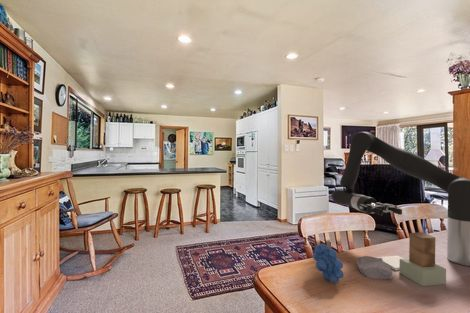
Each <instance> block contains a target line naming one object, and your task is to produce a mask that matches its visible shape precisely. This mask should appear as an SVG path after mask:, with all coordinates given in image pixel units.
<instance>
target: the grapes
mask: <svg viewBox="0 0 470 313" xmlns="http://www.w3.org/2000/svg"><path fill="white" fill-rule="evenodd" d="M337 257H338V254H337V251H336V250H335V249H333V248H329V246H328V245H327V243H322V244H320V245H319V244H316V245H315V246H314V252H313V253H312V259H313V260H314V261H315V268H316V269H317V271H319V272H321V273H322V277H323V279H325V280H326V281H329V280H330V281H331V282H332V283H334V284H338V283H339V280H340V279H343V278H344V272H343V271H342V269H343V267H344V265H343V264H344V263H343V262H342V261H341V259H339V258H337Z"/></svg>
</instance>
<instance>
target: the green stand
mask: <svg viewBox="0 0 470 313" xmlns="http://www.w3.org/2000/svg"><path fill="white" fill-rule="evenodd" d="M403 258H404V257H403ZM398 271H399V274H401V275H403V276H405V277H407V278H408V279H409V280H411V281H413V282H415V283H416V284H418V285H420V286H421V287H428V286H438V285H444V284H445V285H446V284H447V268H446V267H443V266H441V265H439V264H436V263H435V267H424V268H422V267H420V266H418V265H416V264H414V263H412V262H410V261H409V257H407V258H406V257H405V258H404V259H400V268H399V270H398Z"/></svg>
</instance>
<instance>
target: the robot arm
mask: <svg viewBox="0 0 470 313" xmlns="http://www.w3.org/2000/svg"><path fill="white" fill-rule="evenodd" d="M366 152H369V153H372V154H374V155H376V156H378V157H380V158H381V159H382V160H384V161H385V162H386V163H388V164H389V165H390V166H391V167H393V168H394V169H397V170H398V171H400V172H402V173H405V174H406V175H408V176H410V177H413V178H415V179H419V180H421V181H423V182H428V183H430V184H432V185H434V186H436V187H438V188H439V189H440V190H443V191H444V192H446V193H447V228H446V229H447V230H446V231H447V238H446V240H447V242H446V244H447V246H446V250H447V251H446V258H447V259H448V260H449V261H450V262H453V263H454V264H457V265H461V266H462V265H463V266H466V267H470V179H468V178H465V177H463V176H460V175H457V174H454V173H452V172H450V171H447V170H445V169H442V168H441V167H439V166H437V165H436V164H433V163H432V162H430V161H429V160H427V159H426V158H424V157H421V156H420V155H417V154H416V153H413V152H411V151H408V150H406V149H404V148H401V147H399V146H397V145H394V144H390V143H388V142H386V141H385V140H383V139H381V138H379V137H377V136H375V134H372V133H371V132H369V131H358V132H356V133H355V134H353V136H352V137H351V141H350V147H349V153H348V157H347V161H346V164H345V167H344V170H343V173H342V175H341V178H340V181H339V184H340V186H341V187H343V188H345V189H343V190H342V189H335V190H333V191H332V193H331V199H332V201H333V202H334V203H336V204H340V205H345V206H348V207H349V208H353V209H355V210H357V211H359V212H362V213H365V214H368V215H371V214H372V215H373V214H375V215H378V216H383V215H384V213H386V214H387V213H393V214H397V215H400V216H401V215H403V210H402V209H401V208H399V207H398V205H394V204H392V203H387V202H386V203H381V202H378V201H377V200H376V199H375V198H374V197H371V196H367V195H364V194H358V193H355V185H356V183H357V179H358V177H359V175H360V174H359V173H360V167H361V162H362V159H363V157H364V155H365V153H366Z"/></svg>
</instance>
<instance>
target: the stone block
mask: <svg viewBox="0 0 470 313" xmlns="http://www.w3.org/2000/svg"><path fill="white" fill-rule="evenodd" d="M356 263H357V268H358V269H359V272H360V273H361V275H363V276H364V277H366V278H368V279H377V280H380V279H381V280H390V281H391V280H392V279H393V271H392V270H393V269H391V268H390V266H389V265H387V264H385V263H384V262H383V260H382V258H377V257H375V256H370V255H369V256H368V255H362V256H358V257H356Z"/></svg>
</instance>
